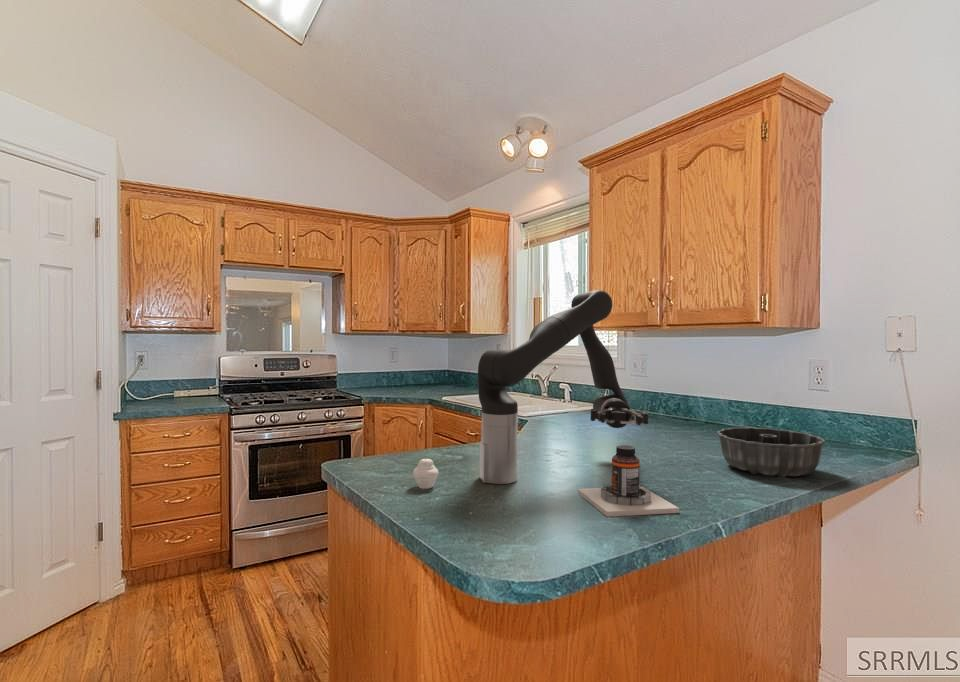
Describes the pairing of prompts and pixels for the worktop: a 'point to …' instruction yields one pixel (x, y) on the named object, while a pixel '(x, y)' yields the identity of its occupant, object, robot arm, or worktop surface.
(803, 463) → the bundt pan
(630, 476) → the supplement bottle
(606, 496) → the collar
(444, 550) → the worktop surface
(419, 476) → the white lidded jar
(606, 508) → the board
